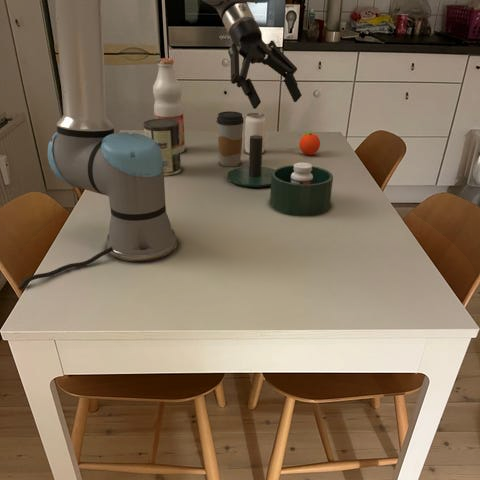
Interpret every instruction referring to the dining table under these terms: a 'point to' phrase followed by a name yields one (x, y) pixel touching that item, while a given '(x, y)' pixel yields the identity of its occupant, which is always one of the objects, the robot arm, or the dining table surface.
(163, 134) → the coffee can
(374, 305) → the dining table surface
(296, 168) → the pill bottle
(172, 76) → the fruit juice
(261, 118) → the can
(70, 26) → the robot arm
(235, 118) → the coffee cup
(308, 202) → the pot
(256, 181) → the pot lid
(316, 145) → the clementine
